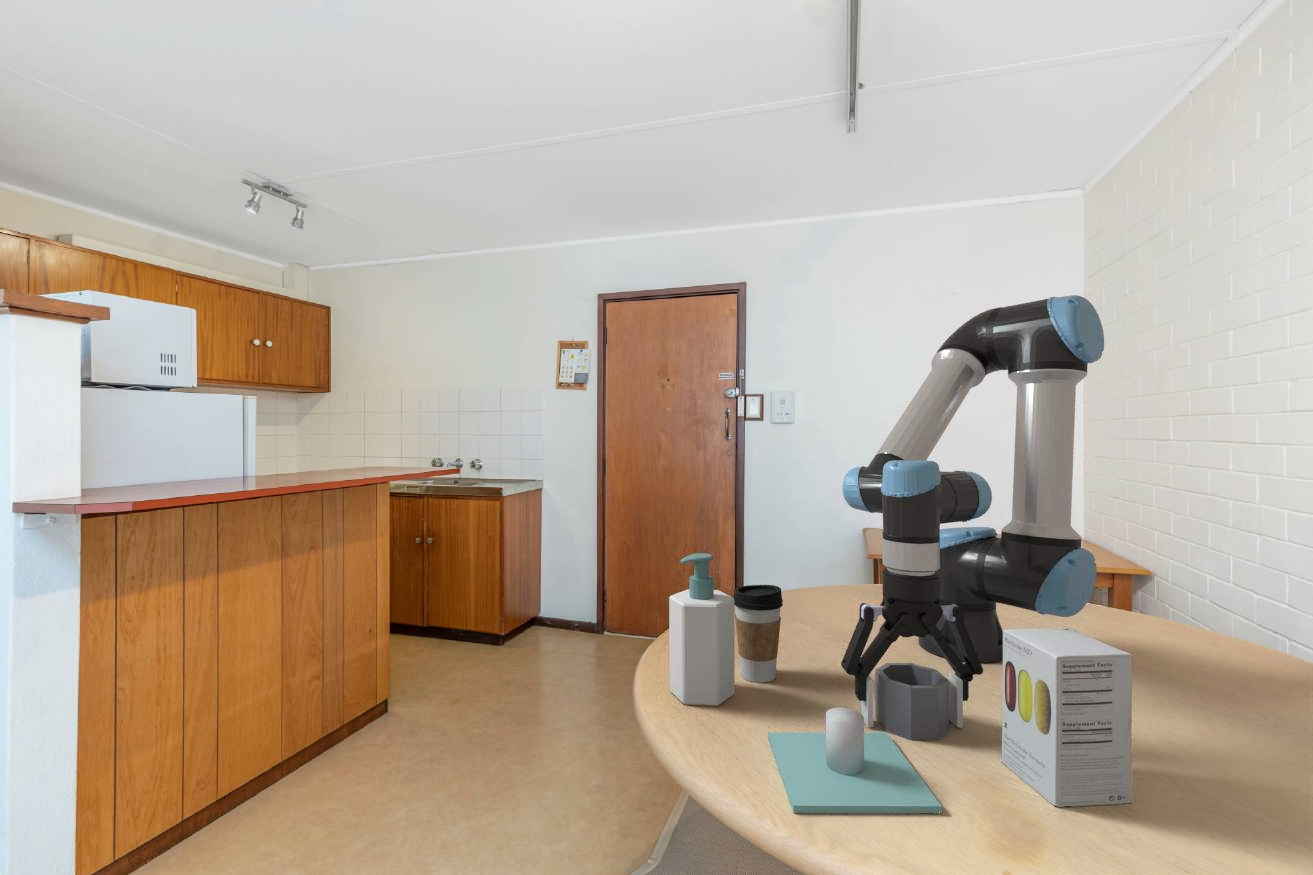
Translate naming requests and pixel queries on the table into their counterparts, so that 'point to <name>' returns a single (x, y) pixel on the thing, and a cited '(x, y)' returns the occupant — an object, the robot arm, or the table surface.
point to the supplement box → (1067, 716)
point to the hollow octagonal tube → (912, 701)
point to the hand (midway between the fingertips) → (911, 722)
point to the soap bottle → (701, 639)
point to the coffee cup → (758, 630)
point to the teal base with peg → (848, 770)
